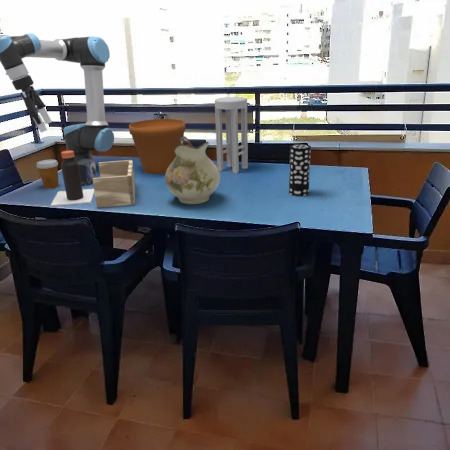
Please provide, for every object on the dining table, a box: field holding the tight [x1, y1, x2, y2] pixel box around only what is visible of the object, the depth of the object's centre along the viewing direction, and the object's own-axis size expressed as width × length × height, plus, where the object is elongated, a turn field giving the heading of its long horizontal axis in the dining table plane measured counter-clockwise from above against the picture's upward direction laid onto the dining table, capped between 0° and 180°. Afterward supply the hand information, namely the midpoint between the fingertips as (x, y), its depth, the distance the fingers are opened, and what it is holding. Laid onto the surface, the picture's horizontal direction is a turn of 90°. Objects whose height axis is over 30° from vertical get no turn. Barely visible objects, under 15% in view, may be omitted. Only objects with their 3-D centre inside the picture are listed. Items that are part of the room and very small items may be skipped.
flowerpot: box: [128, 118, 186, 175], centre depth 224 cm, size 28×28×24 cm
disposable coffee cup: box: [36, 159, 60, 189], centre depth 203 cm, size 10×10×12 cm
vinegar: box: [60, 150, 84, 200], centre depth 183 cm, size 7×7×20 cm
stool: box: [214, 96, 249, 174], centre depth 218 cm, size 16×16×35 cm
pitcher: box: [164, 136, 221, 205], centre depth 178 cm, size 22×24×25 cm
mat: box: [50, 188, 95, 207], centre depth 189 cm, size 18×16×1 cm
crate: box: [92, 159, 136, 208], centre depth 188 cm, size 27×15×12 cm, turn 10°
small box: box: [78, 158, 98, 187], centre depth 208 cm, size 11×6×10 cm, turn 168°
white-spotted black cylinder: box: [288, 143, 312, 197], centre depth 182 cm, size 8×8×20 cm
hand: (46, 127), depth 185 cm, fingers open, 13 cm apart
